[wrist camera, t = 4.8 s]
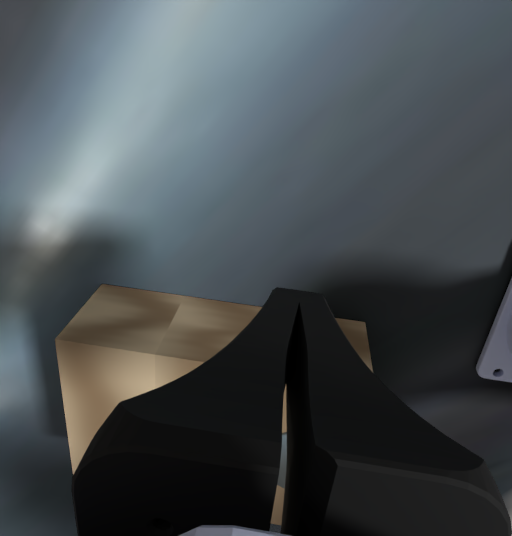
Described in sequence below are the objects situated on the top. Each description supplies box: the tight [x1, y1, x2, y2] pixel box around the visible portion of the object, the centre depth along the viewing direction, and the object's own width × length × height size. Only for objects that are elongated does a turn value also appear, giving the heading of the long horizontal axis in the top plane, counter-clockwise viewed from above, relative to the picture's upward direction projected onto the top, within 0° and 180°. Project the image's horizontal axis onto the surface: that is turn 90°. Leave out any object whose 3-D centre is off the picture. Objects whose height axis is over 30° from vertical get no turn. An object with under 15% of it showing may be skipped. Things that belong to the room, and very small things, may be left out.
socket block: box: [55, 284, 373, 525], centre depth 24 cm, size 14×10×5 cm
